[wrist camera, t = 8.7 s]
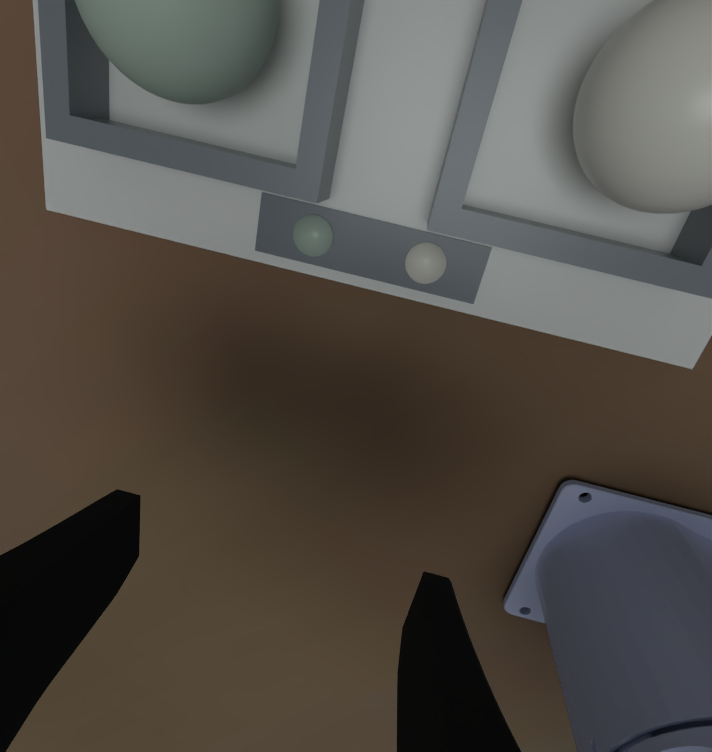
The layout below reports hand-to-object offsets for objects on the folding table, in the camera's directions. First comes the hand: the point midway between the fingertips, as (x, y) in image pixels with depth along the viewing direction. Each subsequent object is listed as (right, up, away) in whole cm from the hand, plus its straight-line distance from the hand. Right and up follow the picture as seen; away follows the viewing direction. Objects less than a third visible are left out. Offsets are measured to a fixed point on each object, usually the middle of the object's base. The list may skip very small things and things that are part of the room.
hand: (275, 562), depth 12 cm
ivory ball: (+10, +11, 0) cm, 15 cm away
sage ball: (-3, +14, 0) cm, 15 cm away
